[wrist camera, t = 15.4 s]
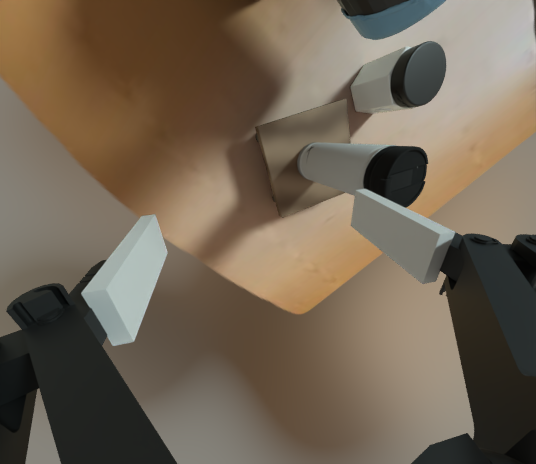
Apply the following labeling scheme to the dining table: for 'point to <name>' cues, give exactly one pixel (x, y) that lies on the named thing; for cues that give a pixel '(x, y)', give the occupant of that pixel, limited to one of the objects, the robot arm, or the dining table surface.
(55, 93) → the dining table surface
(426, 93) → the jar
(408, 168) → the travel mug
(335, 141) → the peg shelf
